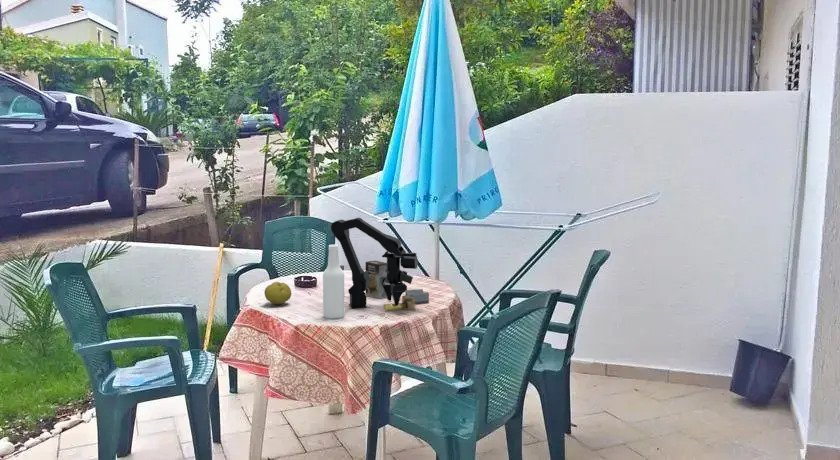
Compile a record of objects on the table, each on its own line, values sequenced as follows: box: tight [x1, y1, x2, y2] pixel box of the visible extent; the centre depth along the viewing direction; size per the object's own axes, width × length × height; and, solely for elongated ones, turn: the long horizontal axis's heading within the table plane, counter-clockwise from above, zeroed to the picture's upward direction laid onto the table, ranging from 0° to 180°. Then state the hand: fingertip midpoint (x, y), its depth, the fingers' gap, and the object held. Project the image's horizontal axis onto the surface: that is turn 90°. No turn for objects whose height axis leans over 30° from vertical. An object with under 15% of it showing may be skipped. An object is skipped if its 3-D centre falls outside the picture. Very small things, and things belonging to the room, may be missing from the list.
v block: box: [405, 288, 430, 305], centre depth 331 cm, size 8×9×5 cm
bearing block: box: [401, 294, 416, 311], centre depth 320 cm, size 3×8×4 cm, turn 21°
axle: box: [383, 302, 406, 312], centre depth 316 cm, size 9×3×3 cm
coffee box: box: [365, 260, 387, 300], centre depth 340 cm, size 9×6×16 cm
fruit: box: [264, 281, 292, 306], centre depth 323 cm, size 11×12×10 cm
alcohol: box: [322, 243, 346, 320], centre depth 302 cm, size 9×9×30 cm
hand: (393, 303), depth 318 cm, fingers open, 9 cm apart
